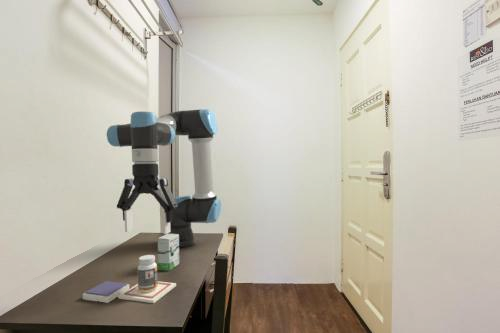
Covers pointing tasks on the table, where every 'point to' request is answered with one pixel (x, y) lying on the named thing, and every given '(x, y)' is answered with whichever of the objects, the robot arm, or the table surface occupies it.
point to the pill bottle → (147, 274)
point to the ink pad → (105, 291)
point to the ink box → (168, 251)
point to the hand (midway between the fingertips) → (147, 232)
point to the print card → (149, 296)
